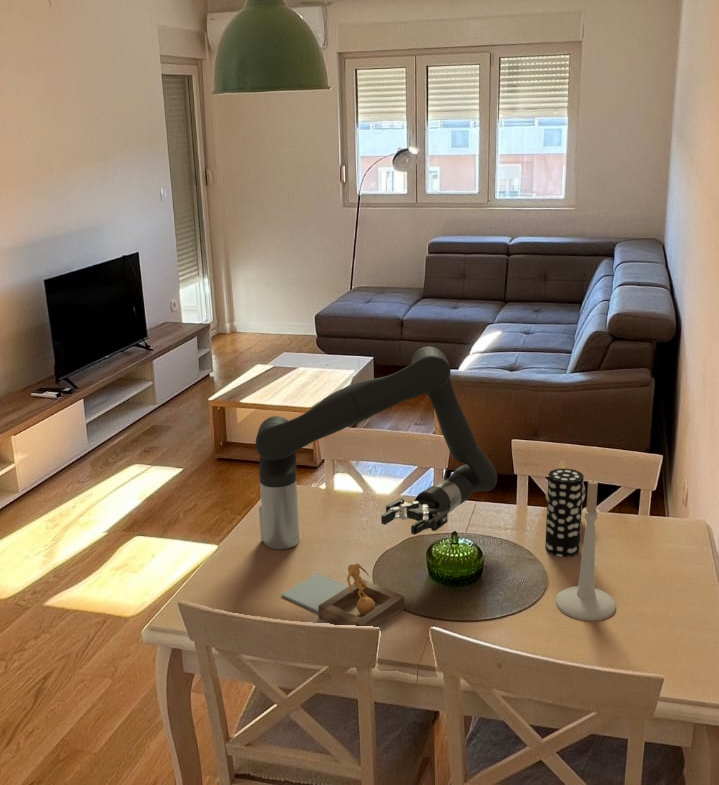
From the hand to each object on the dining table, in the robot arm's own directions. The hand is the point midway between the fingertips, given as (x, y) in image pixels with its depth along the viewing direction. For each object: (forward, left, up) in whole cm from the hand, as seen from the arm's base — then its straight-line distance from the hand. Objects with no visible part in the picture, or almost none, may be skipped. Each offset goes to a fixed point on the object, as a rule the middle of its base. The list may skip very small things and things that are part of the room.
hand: (397, 525), depth 194 cm
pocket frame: (0, -13, -16) cm, 21 cm away
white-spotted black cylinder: (+21, +40, -16) cm, 48 cm away
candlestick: (+37, +20, -16) cm, 45 cm away
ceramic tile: (-13, -13, -16) cm, 25 cm away
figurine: (0, -13, -16) cm, 21 cm away
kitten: (+14, +55, -16) cm, 59 cm away
